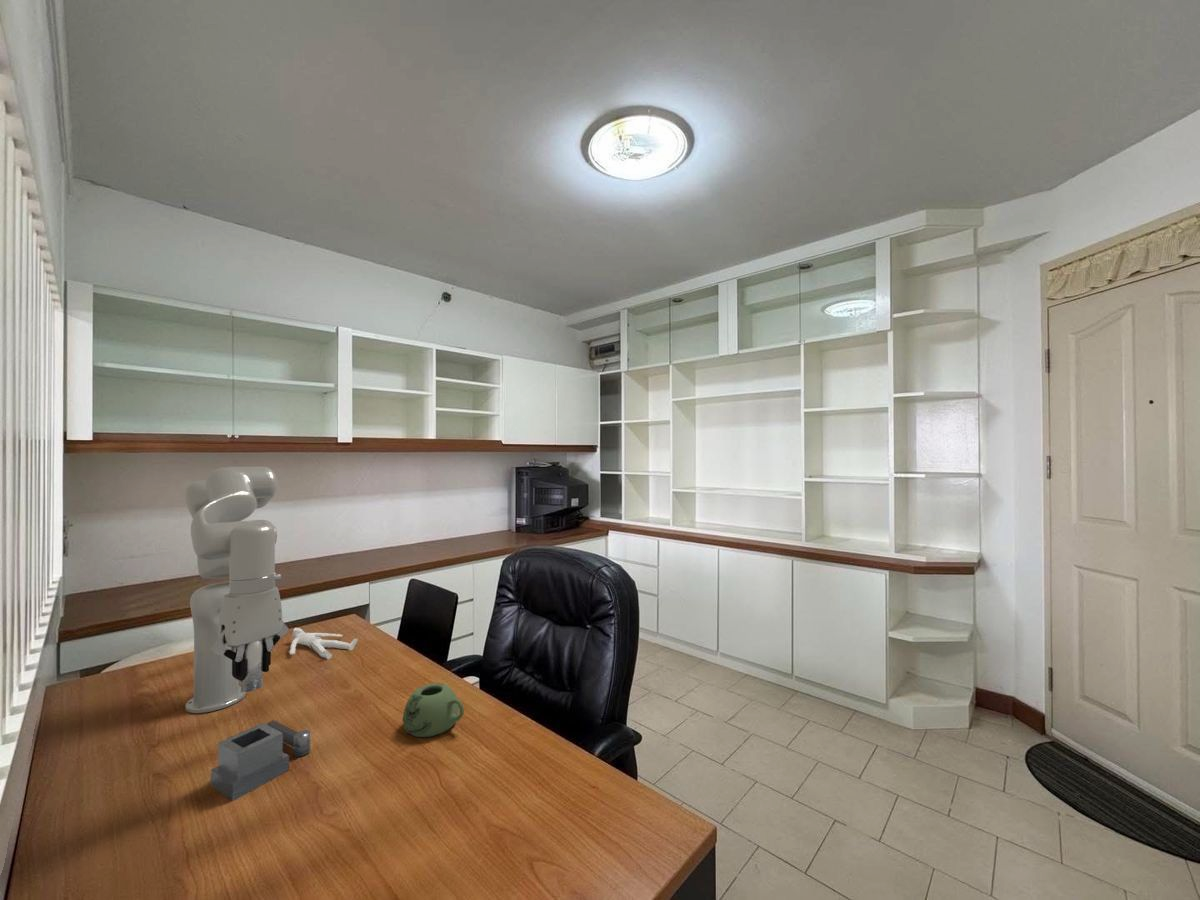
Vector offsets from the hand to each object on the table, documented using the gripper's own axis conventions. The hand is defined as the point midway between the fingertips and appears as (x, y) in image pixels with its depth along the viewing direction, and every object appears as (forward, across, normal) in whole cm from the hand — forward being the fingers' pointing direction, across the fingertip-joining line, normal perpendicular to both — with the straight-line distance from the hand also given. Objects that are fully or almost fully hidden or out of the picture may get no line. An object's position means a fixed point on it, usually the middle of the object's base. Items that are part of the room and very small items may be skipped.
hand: (251, 673), depth 96 cm
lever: (+21, -10, -6) cm, 24 cm away
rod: (+3, 0, 0) cm, 3 cm away
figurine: (+21, -45, -56) cm, 74 cm away
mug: (+21, -31, +19) cm, 42 cm away
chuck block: (+21, 0, 0) cm, 21 cm away
